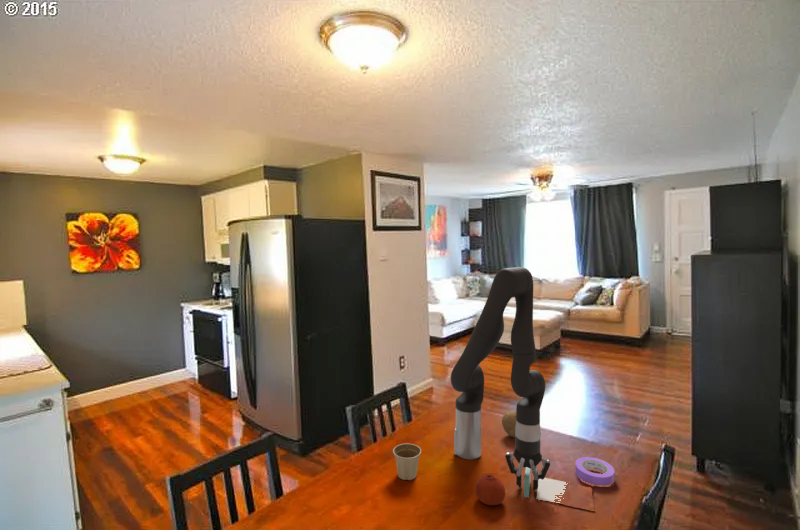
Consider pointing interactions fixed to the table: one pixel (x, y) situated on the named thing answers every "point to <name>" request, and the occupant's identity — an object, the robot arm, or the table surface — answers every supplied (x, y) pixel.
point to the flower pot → (407, 460)
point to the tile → (527, 482)
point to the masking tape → (592, 477)
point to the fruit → (490, 490)
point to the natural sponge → (509, 423)
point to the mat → (550, 489)
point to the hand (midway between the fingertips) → (527, 487)
